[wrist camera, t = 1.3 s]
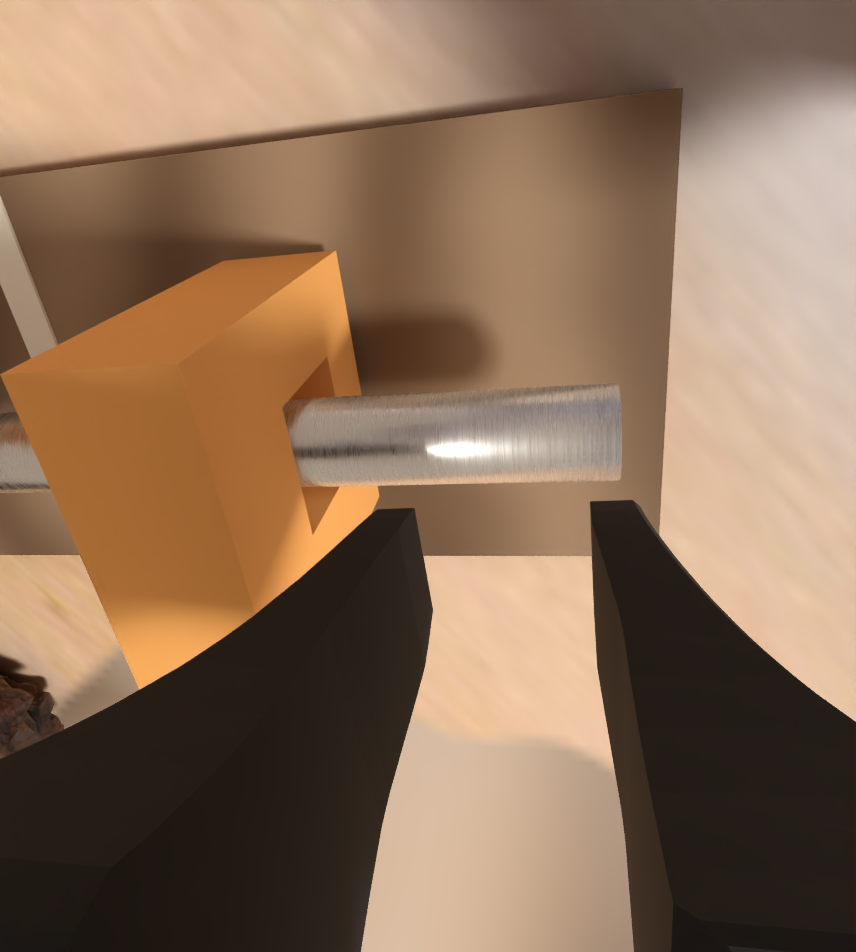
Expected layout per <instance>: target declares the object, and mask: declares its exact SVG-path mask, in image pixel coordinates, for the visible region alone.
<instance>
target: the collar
mask: <svg viewBox="0 0 856 952" xmlns="http://www.w3.org/2000/svg"><path fill="white" fill-rule="evenodd" d="M0 375H1V378H2V380H3V382H4V384H5V387H6V389H7V391H8V393H9V396H10V398H11V400H12V402H13V405H14V407H15V409H16V411H17V414H18V416H19V418H20V421H21V423H22V425H23V427H24V430H25V432H26V434H27V436H28V439H29V441H30V443H31V445H32V448H33V450H34V452H35V454H36V457H37V459H38V461H39V463H40V466H41V468H42V470H43V473H44V475H45V477H46V479H47V482H48V484H49V486H50V488H51V491H52V493H53V495H54V497H55V500H56V502H57V504H58V506H59V509H60V511H61V513H62V515H63V518H64V520H65V522H66V525H67V527H68V529H69V531H70V534H71V536H72V538H73V540H74V543H75V545H76V547H77V549H78V552H79V554H80V556H81V558H82V561H83V563H84V565H85V567H86V570H87V572H88V574H89V577H90V579H91V581H92V583H93V586H94V588H95V590H96V592H97V595H98V597H99V599H100V601H101V604H102V606H103V608H104V610H105V613H106V615H107V617H108V619H109V622H110V624H111V626H112V629H113V631H114V633H115V635H116V638H117V640H118V642H119V644H120V647H121V649H122V651H123V653H124V656H125V658H126V660H127V662H128V665H129V667H130V669H131V671H132V674H133V676H134V678H135V681H136V683H137V685H138V687H139V690H140V689H142V688H143V687H145V686H147V685H148V684H150V683H152V682H154V681H155V680H157V679H159V678H161V677H162V676H164V675H166V674H168V673H169V672H171V671H173V670H174V669H176V668H178V667H180V666H181V665H183V664H184V663H186V662H188V661H189V660H191V659H192V658H194V657H195V656H197V655H198V654H200V653H201V652H203V651H204V650H206V649H207V648H209V647H210V646H212V645H213V644H215V643H216V642H218V641H219V640H221V639H222V638H224V637H225V636H226V635H228V634H229V633H231V632H232V631H233V630H235V629H236V628H238V627H239V626H240V625H242V624H243V623H244V622H246V621H247V620H248V619H250V618H251V617H252V616H254V615H255V614H256V613H257V612H259V611H260V610H261V609H262V608H264V607H265V606H266V605H267V604H269V603H270V602H271V601H272V600H273V599H275V598H276V597H277V596H278V595H280V594H281V593H282V592H283V591H285V590H286V589H287V588H288V587H290V586H291V585H292V584H293V583H294V582H296V581H297V580H298V579H299V578H300V577H302V576H303V575H304V574H305V573H306V572H307V571H308V570H310V569H311V568H312V567H313V566H314V565H315V564H316V563H317V562H319V561H320V560H321V559H322V558H323V557H324V556H325V555H326V554H327V553H329V552H330V551H331V550H332V549H333V548H334V547H335V546H336V545H337V544H339V543H340V542H341V541H342V540H343V539H344V538H345V537H346V536H347V535H348V534H349V533H351V532H352V531H353V530H354V529H355V528H356V527H357V526H358V525H359V524H360V523H362V522H363V521H364V520H365V519H366V518H367V517H368V516H370V515H371V514H372V512H373V509H374V507H375V505H376V503H377V500H378V498H379V491H378V486H336V487H301V484H300V480H299V476H298V471H297V467H296V463H295V459H294V455H293V450H292V446H291V442H290V438H289V434H288V429H287V425H286V421H285V417H284V413H283V408H282V407H283V406H284V405H285V404H286V403H287V402H288V401H289V399H298V398H318V397H339V396H360V395H362V394H361V389H360V383H359V377H358V372H357V366H356V360H355V355H354V349H353V344H352V338H351V332H350V327H349V321H348V315H347V310H346V304H345V298H344V293H343V287H342V281H341V276H340V270H339V264H338V259H337V253H336V250H333V251H322V252H312V253H301V254H290V255H280V256H269V257H259V258H248V259H237V260H227V261H222V262H220V263H218V264H216V265H214V266H212V267H210V268H208V269H206V270H204V271H202V272H200V273H198V274H196V275H194V276H193V277H191V278H189V279H187V280H185V281H183V282H181V283H179V284H177V285H175V286H173V287H171V288H169V289H167V290H165V291H163V292H161V293H159V294H157V295H155V296H153V297H151V298H149V299H147V300H145V301H143V302H141V303H139V304H137V305H135V306H134V307H132V308H130V309H128V310H126V311H124V312H122V313H120V314H118V315H116V316H114V317H112V318H110V319H108V320H106V321H104V322H102V323H100V324H98V325H96V326H94V327H92V328H90V329H88V330H86V331H84V332H82V333H80V334H78V335H76V336H74V337H73V338H71V339H69V340H67V341H65V342H63V343H61V344H59V345H57V346H55V347H53V348H51V349H49V350H47V351H45V352H43V353H41V354H39V355H37V356H35V357H33V358H31V359H29V360H27V361H25V362H23V363H21V364H19V365H17V366H15V367H14V368H12V369H10V370H8V371H6V372H4V373H2V374H0Z"/></svg>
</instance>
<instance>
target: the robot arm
mask: <svg viewBox="0 0 856 952" xmlns="http://www.w3.org/2000/svg"><path fill="white" fill-rule="evenodd" d="M590 518H591V544H592V570H593V596H594V618H595V635H596V652H597V668H598V674H599V680H600V686H601V692H602V698H603V704H604V710H605V716H606V722H607V728H608V733H609V739H610V745H611V751H612V757H613V763H614V768H615V774H616V780H617V786H618V791H619V797H620V804H621V809H622V817H623V825H624V833H625V841H626V853H627V865H628V878H629V891H630V903H631V917H632V930H633V943H634V952H856V722H855V721H854V720H852V719H851V718H850V717H848V716H847V715H845V714H844V713H843V712H841V711H840V710H838V709H837V708H836V707H834V706H833V705H831V704H830V703H829V702H827V701H826V700H824V699H823V698H822V697H820V696H819V695H817V694H816V693H815V692H814V691H812V690H811V689H810V688H808V687H807V686H806V685H805V684H803V683H802V682H801V681H800V680H798V679H797V678H796V677H795V676H793V675H792V674H791V673H790V672H789V671H788V670H786V669H785V668H784V667H783V666H782V665H781V664H779V663H778V662H777V661H776V660H775V659H774V658H772V657H771V656H770V655H769V654H768V653H767V652H765V651H764V650H763V649H762V648H761V647H760V646H759V645H758V644H757V643H756V642H754V641H753V640H752V639H751V638H750V637H749V636H748V635H747V634H746V633H745V632H744V631H743V630H742V629H741V628H740V627H739V626H738V625H737V624H736V623H735V622H734V621H733V620H732V619H731V618H730V617H729V616H728V615H727V614H726V613H725V612H724V611H723V610H722V609H721V608H720V607H719V606H718V605H717V604H716V603H715V602H714V601H713V600H712V599H711V598H710V596H709V595H708V594H707V593H706V592H705V591H704V590H703V589H702V588H701V587H700V585H699V584H698V583H697V582H696V581H695V580H694V578H693V577H692V576H691V575H690V574H689V573H688V571H687V570H686V569H685V568H684V567H683V566H682V564H681V563H680V562H679V561H678V560H677V558H676V557H675V556H674V555H673V553H672V552H671V551H670V549H669V548H668V547H667V545H666V544H665V543H664V541H663V540H662V539H661V537H660V536H659V535H658V533H657V532H656V530H655V529H654V528H653V526H652V525H651V523H650V522H649V520H648V519H647V517H646V515H645V514H644V512H643V510H642V509H641V507H640V506H639V505H638V504H637V503H636V502H635V501H634V500H613V501H590ZM432 613H433V608H432V602H431V597H430V591H429V586H428V580H427V575H426V569H425V564H424V558H423V553H422V547H421V542H420V536H419V530H418V525H417V519H416V514H415V508H396V509H377V510H376V511H375V512H373V513H372V514H371V515H370V516H368V517H367V518H366V519H365V520H364V521H363V522H362V523H360V524H359V525H358V526H357V527H356V528H355V529H354V530H353V531H352V532H351V533H349V534H348V535H347V536H346V537H345V538H344V539H343V540H342V541H341V542H340V543H339V544H337V545H336V546H335V547H334V548H333V549H332V550H331V551H330V552H329V553H327V554H326V555H325V556H324V557H323V558H322V559H321V560H320V561H319V562H317V563H316V564H315V565H314V566H313V567H312V568H311V569H310V570H308V571H307V572H306V573H305V574H304V575H303V576H302V577H300V578H299V579H298V580H297V581H296V582H294V583H293V584H292V585H291V586H290V587H288V588H287V589H286V590H285V591H283V592H282V593H281V594H280V595H278V596H277V597H276V598H275V599H273V600H272V601H271V602H270V603H269V604H267V605H266V606H265V607H264V608H262V609H261V610H260V611H259V612H257V613H256V614H255V615H254V616H252V617H251V618H250V619H248V620H247V621H246V622H244V623H243V624H242V625H240V626H239V627H238V628H236V629H235V630H233V631H232V632H231V633H229V634H228V635H226V636H225V637H224V638H222V639H221V640H219V641H218V642H216V643H215V644H213V645H212V646H210V647H209V648H207V649H206V650H204V651H203V652H201V653H200V654H198V655H197V656H195V657H194V658H192V659H191V660H189V661H188V662H186V663H184V664H183V665H181V666H180V667H178V668H176V669H174V670H173V671H171V672H169V673H168V674H166V675H164V676H162V677H161V678H159V679H157V680H155V681H154V682H152V683H150V684H148V685H147V686H145V687H143V688H142V689H140V690H138V691H136V692H135V693H133V694H131V695H129V696H128V697H126V698H124V699H123V700H121V701H119V702H117V703H115V704H114V705H112V706H110V707H108V708H106V709H104V710H102V711H100V712H98V713H96V714H94V715H92V716H90V717H88V718H86V719H85V720H82V721H80V722H79V723H77V724H75V725H73V726H71V727H68V728H66V729H64V730H62V731H60V732H58V733H56V734H54V735H52V736H49V737H47V738H45V739H43V740H41V741H39V742H37V743H35V744H33V745H30V746H28V747H26V748H24V749H21V750H19V751H17V752H15V753H13V754H10V755H8V756H6V757H3V758H1V759H0V952H361V946H362V940H363V934H364V927H365V921H366V915H367V909H368V902H369V896H370V890H371V884H372V879H373V873H374V867H375V862H376V856H377V850H378V845H379V839H380V833H381V828H382V823H383V819H384V814H385V810H386V806H387V802H388V797H389V793H390V790H391V786H392V783H393V779H394V776H395V772H396V768H397V765H398V761H399V757H400V754H401V751H402V747H403V743H404V740H405V736H406V733H407V730H408V726H409V723H410V719H411V715H412V712H413V708H414V705H415V701H416V697H417V694H418V690H419V687H420V683H421V679H422V675H423V672H424V668H425V663H426V656H427V650H428V643H429V636H430V628H431V621H432Z"/></svg>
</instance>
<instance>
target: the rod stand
mask: <svg viewBox="0 0 856 952" xmlns="http://www.w3.org/2000/svg"><path fill="white" fill-rule="evenodd" d="M682 90H683V88H675V89H668V90H660V91H653V92H645V93H637V94H630V95H622V96H614V97H607V98H599V99H591V100H584V101H576V102H569V103H561V104H553V105H546V106H538V107H530V108H523V109H515V110H507V111H500V112H492V113H484V114H477V115H469V116H462V117H454V118H446V119H439V120H431V121H423V122H416V123H408V124H400V125H393V126H385V127H378V128H370V129H362V130H355V131H347V132H339V133H332V134H324V135H316V136H309V137H301V138H294V139H286V140H278V141H271V142H263V143H255V144H248V145H240V146H232V147H225V148H217V149H209V150H202V151H194V152H187V153H179V154H171V155H164V156H156V157H148V158H141V159H133V160H125V161H118V162H110V163H103V164H95V165H87V166H80V167H72V168H64V169H57V170H49V171H41V172H34V173H26V174H18V175H11V176H3V177H0V374H2V373H4V372H6V371H8V370H10V369H12V368H14V367H15V366H17V365H19V364H21V363H23V362H25V361H27V360H29V359H31V358H33V357H35V356H37V355H39V354H41V353H43V352H45V351H47V350H49V349H51V348H53V347H55V346H57V345H59V344H61V343H63V342H65V341H67V340H69V339H71V338H73V337H74V336H76V335H78V334H80V333H82V332H84V331H86V330H88V329H90V328H92V327H94V326H96V325H98V324H100V323H102V322H104V321H106V320H108V319H110V318H112V317H114V316H116V315H118V314H120V313H122V312H124V311H126V310H128V309H130V308H132V307H134V306H135V305H137V304H139V303H141V302H143V301H145V300H147V299H149V298H151V297H153V296H155V295H157V294H159V293H161V292H163V291H165V290H167V289H169V288H171V287H173V286H175V285H177V284H179V283H181V282H183V281H185V280H187V279H189V278H191V277H193V276H194V275H196V274H198V273H200V272H202V271H204V270H206V269H208V268H210V267H212V266H214V265H216V264H218V263H220V262H222V261H227V260H237V259H248V258H259V257H269V256H280V255H290V254H301V253H312V252H322V251H333V250H336V253H337V259H338V264H339V270H340V276H341V281H342V287H343V293H344V298H345V304H346V310H347V315H348V321H349V327H350V332H351V338H352V344H353V349H354V355H355V360H356V366H357V372H358V377H359V383H360V389H361V394H362V395H360V396H339V397H318V398H298V399H289V401H288V402H287V403H286V404H285V405H284V406H283V407H282V408H283V413H284V417H285V421H286V425H287V429H288V434H289V438H290V442H291V446H292V450H293V455H294V459H295V463H296V467H297V471H298V476H299V480H300V484H301V487H336V486H378V491H379V498H378V500H377V503H376V505H375V507H374V509H373V512H375V511H376V510H377V509H396V508H415V514H416V519H417V525H418V530H419V536H420V542H421V547H422V553H423V556H592V544H591V518H590V501H613V500H634V501H635V502H636V503H637V504H638V505H639V506H640V507H641V509H642V510H643V512H644V514H645V515H646V517H647V519H648V520H649V522H650V523H651V525H652V526H653V528H654V529H655V530H656V532H657V533H658V535H659V525H660V506H661V487H662V468H663V449H664V430H665V411H666V392H667V373H668V355H669V336H670V317H671V298H672V279H673V260H674V241H675V222H676V203H677V185H678V166H679V147H680V128H681V109H682ZM373 512H372V513H373ZM0 555H80V554H79V552H78V549H77V547H76V545H75V543H74V540H73V538H72V536H71V534H70V531H69V529H68V527H67V525H66V522H65V520H64V518H63V515H62V513H61V511H60V509H59V506H58V504H57V502H56V500H55V497H54V495H53V493H52V491H51V488H50V486H49V484H48V482H47V479H46V477H45V475H44V473H43V470H42V468H41V466H40V463H39V461H38V459H37V457H36V454H35V452H34V450H33V448H32V445H31V443H30V441H29V439H28V436H27V434H26V432H25V430H24V427H23V425H22V423H21V421H20V418H19V416H18V414H17V411H16V409H15V407H14V405H13V402H12V400H11V398H10V396H9V393H8V391H7V389H6V387H5V384H4V382H3V380H2V378H1V375H0Z"/></svg>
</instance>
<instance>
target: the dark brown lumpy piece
mask: <svg viewBox="0 0 856 952" xmlns="http://www.w3.org/2000/svg"><path fill="white" fill-rule="evenodd" d="M53 705H54V704H53V701H52V698H51V695H50V693H48V692H44V691H39V692H37V690H36V686H35V685H32V684H29V683H26V682H24V683H16V682H15V681H14V680H9V677H8V676H4V675H0V759H1V758H3V757H6V756H8V755H10V754H13V753H15V752H17V751H19V750H21V749H24V748H26V747H28V746H30V745H33V744H35V743H37V742H39V741H41V740H43V739H45V738H47V737H49V736H52V735H54V734H56V733H58V732H60V731H62V730H64V725H63V724H61V722H60V720H59V718H58V717H57V716H56V715H54V714H51V711H52V708H53Z"/></svg>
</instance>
